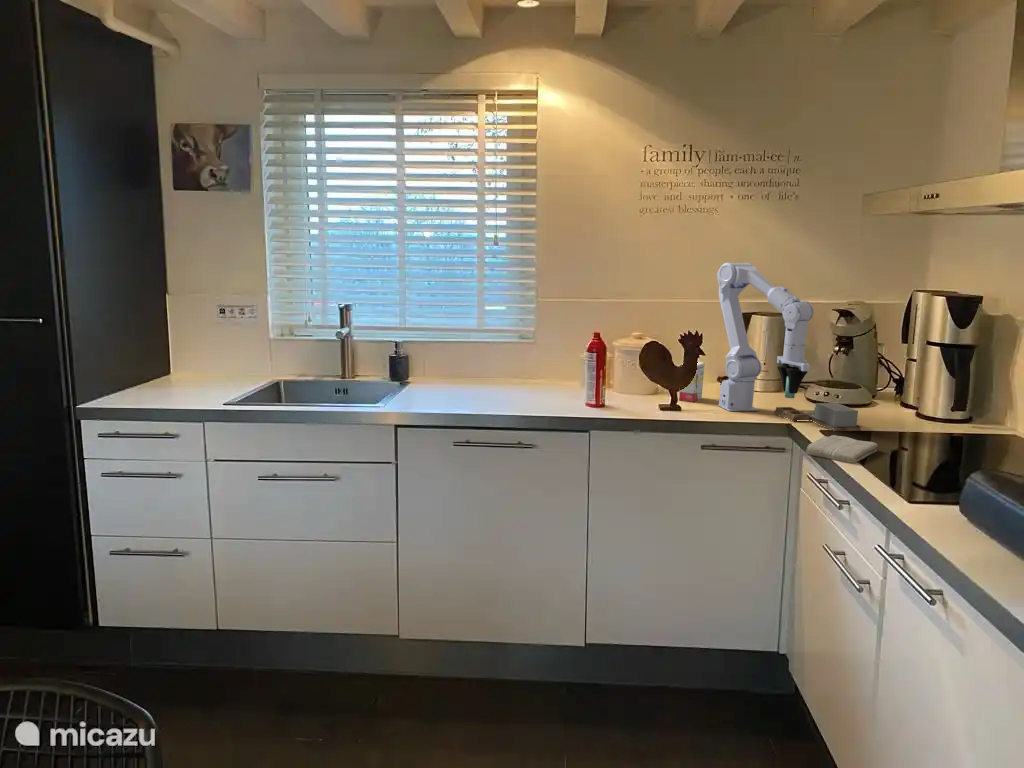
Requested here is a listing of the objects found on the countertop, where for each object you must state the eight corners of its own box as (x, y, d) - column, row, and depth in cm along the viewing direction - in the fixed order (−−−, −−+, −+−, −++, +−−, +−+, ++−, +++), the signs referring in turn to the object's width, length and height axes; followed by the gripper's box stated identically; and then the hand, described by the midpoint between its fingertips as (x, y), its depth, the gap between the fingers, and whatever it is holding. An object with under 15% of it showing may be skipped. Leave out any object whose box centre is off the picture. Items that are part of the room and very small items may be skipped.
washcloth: (878, 452, 203) (880, 440, 203) (855, 466, 190) (856, 453, 189) (830, 443, 211) (831, 431, 210) (804, 456, 197) (805, 444, 197)
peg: (787, 398, 230) (789, 377, 229) (783, 396, 233) (785, 375, 232) (796, 398, 231) (798, 377, 230) (791, 396, 233) (793, 375, 232)
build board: (792, 421, 232) (793, 415, 232) (774, 413, 242) (775, 407, 242) (809, 421, 233) (810, 414, 233) (790, 413, 243) (791, 406, 243)
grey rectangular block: (834, 426, 223) (835, 411, 222) (814, 418, 233) (815, 403, 232) (856, 426, 224) (858, 410, 224) (835, 418, 234) (837, 403, 233)
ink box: (693, 402, 254) (696, 365, 252) (678, 400, 257) (680, 363, 255) (702, 398, 261) (705, 362, 259) (688, 396, 264) (690, 360, 262)
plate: (833, 431, 222) (835, 419, 222) (791, 413, 243) (792, 402, 243) (860, 430, 224) (861, 419, 223) (816, 412, 245) (817, 402, 244)
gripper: (821, 348, 223) (816, 397, 225) (794, 341, 237) (790, 387, 239) (798, 348, 221) (793, 397, 224) (772, 341, 235) (767, 387, 238)
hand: (790, 392), depth 231 cm, fingers closed on peg, 3 cm apart
